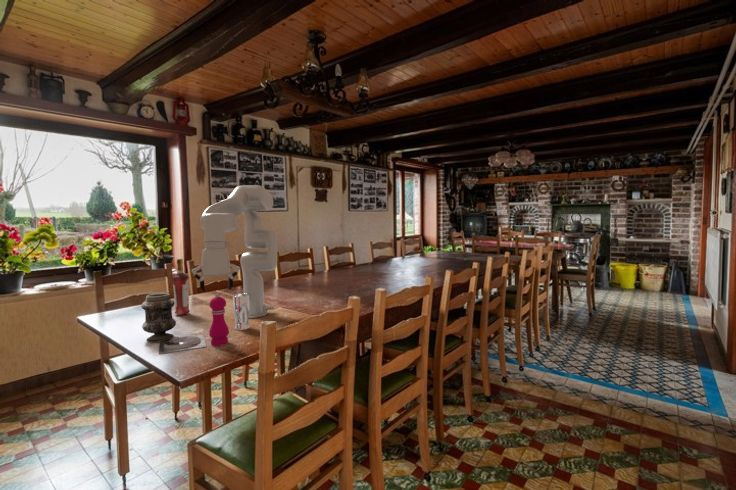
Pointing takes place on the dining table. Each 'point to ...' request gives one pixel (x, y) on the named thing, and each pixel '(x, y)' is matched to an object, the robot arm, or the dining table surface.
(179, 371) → the dining table surface
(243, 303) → the white drink can
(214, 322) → the pepper mill
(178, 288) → the liquor
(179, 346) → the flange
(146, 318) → the stone urn vase
